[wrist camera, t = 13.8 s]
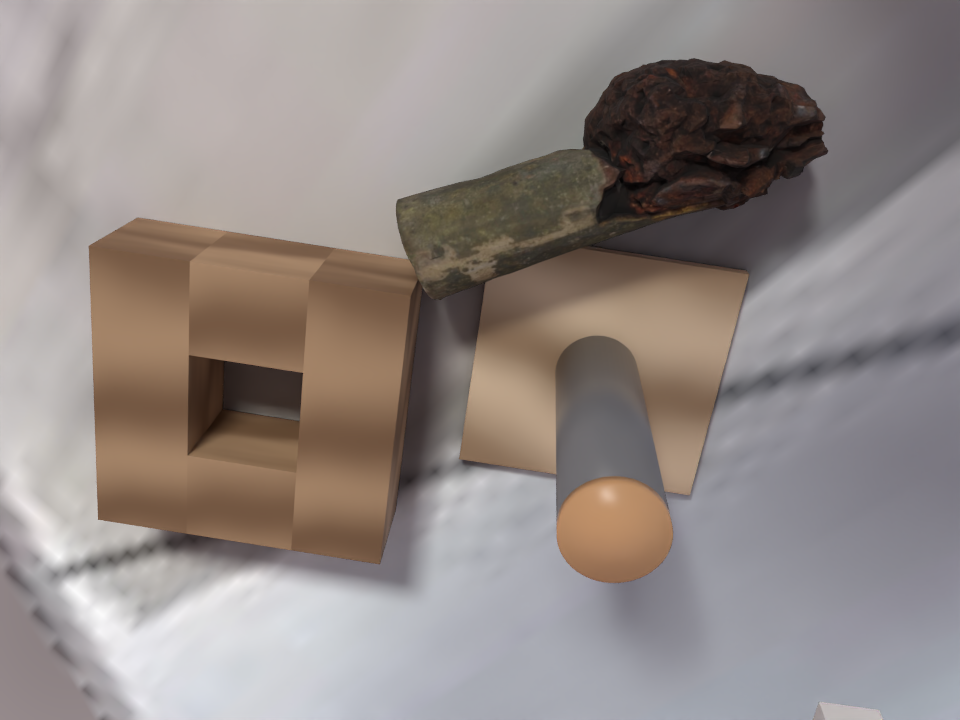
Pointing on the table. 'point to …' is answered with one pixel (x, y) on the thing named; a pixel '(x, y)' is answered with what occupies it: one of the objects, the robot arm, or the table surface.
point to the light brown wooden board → (612, 313)
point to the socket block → (262, 342)
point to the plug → (607, 466)
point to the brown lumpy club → (618, 172)
